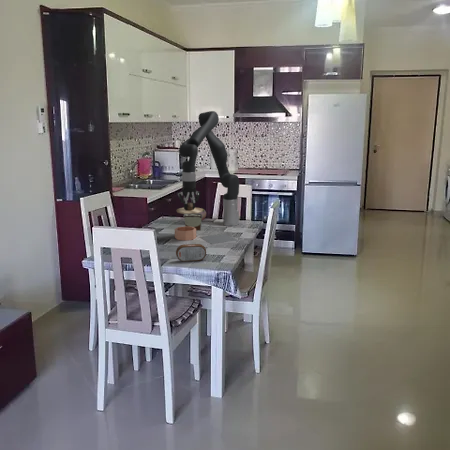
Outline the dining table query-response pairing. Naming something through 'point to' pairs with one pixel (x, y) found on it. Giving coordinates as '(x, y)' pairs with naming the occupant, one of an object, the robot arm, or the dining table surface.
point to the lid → (189, 209)
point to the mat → (218, 238)
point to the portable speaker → (191, 252)
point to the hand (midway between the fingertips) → (189, 209)
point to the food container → (193, 220)
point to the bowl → (185, 233)
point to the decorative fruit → (203, 214)
